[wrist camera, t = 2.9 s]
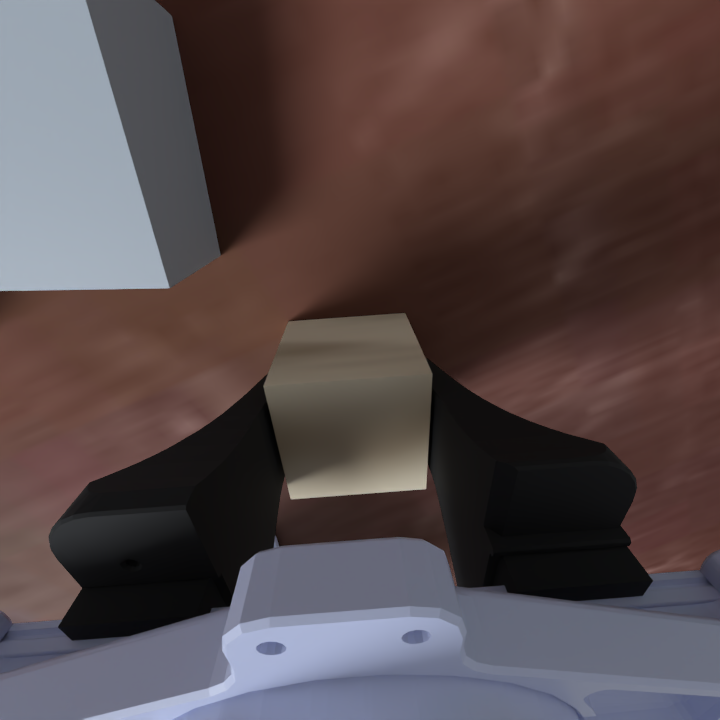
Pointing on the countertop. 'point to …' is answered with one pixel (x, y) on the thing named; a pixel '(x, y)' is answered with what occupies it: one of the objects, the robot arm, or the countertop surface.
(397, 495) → the countertop surface
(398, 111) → the countertop surface
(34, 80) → the base block
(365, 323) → the maple cube
